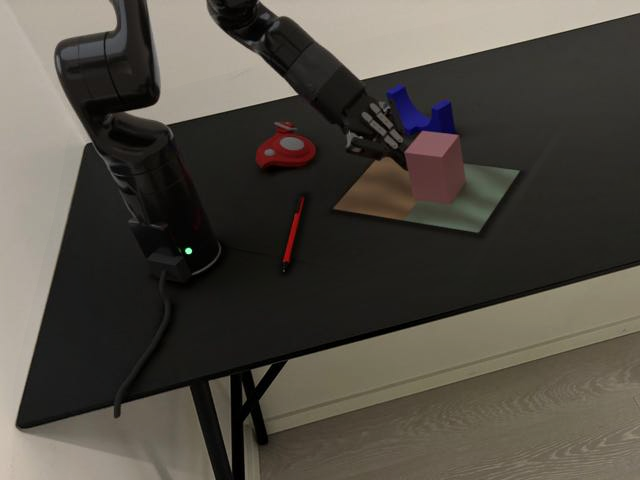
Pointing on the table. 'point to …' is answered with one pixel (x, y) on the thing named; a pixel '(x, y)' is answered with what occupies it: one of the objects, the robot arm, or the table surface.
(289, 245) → the pen
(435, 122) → the blue curved block
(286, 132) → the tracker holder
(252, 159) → the table surface
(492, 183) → the multicoloured piece
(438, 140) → the pink block
